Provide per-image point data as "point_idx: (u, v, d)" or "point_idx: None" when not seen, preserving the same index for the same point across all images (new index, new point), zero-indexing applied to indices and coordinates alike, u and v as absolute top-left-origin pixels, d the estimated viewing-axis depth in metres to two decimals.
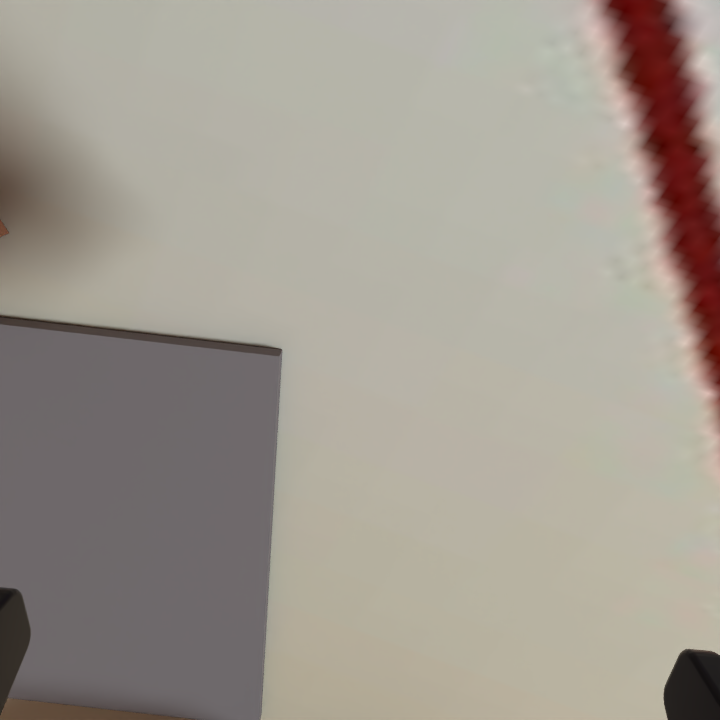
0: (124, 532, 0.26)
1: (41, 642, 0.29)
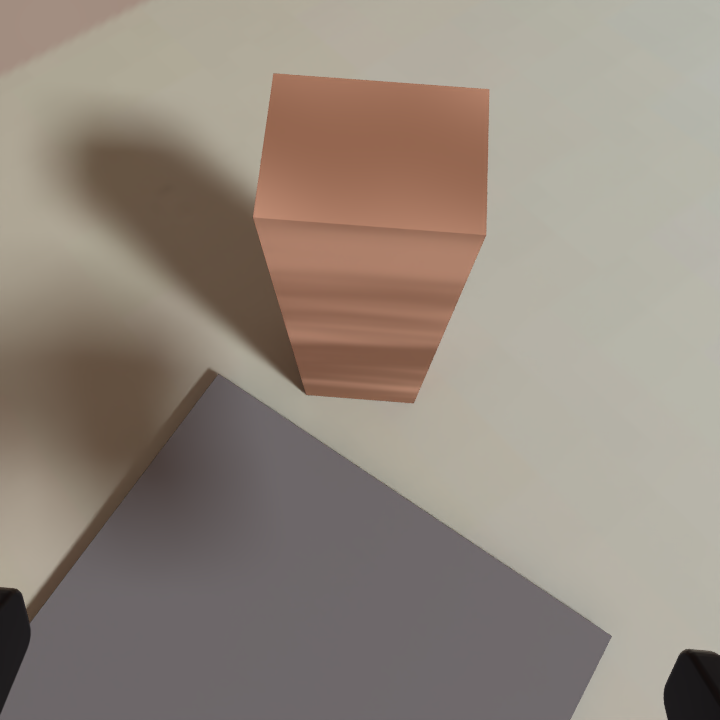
0: None
1: None
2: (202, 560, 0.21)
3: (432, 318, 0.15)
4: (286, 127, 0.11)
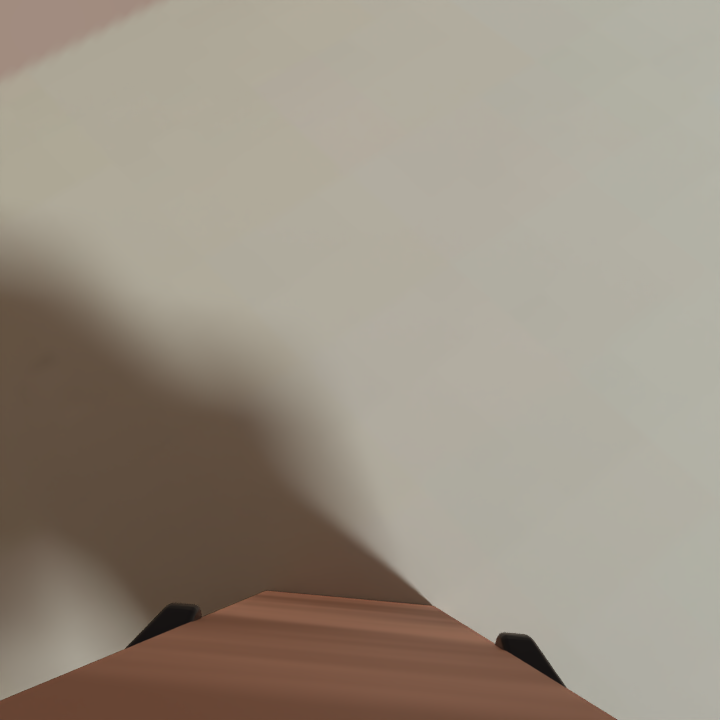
0: None
1: None
2: None
3: None
4: None
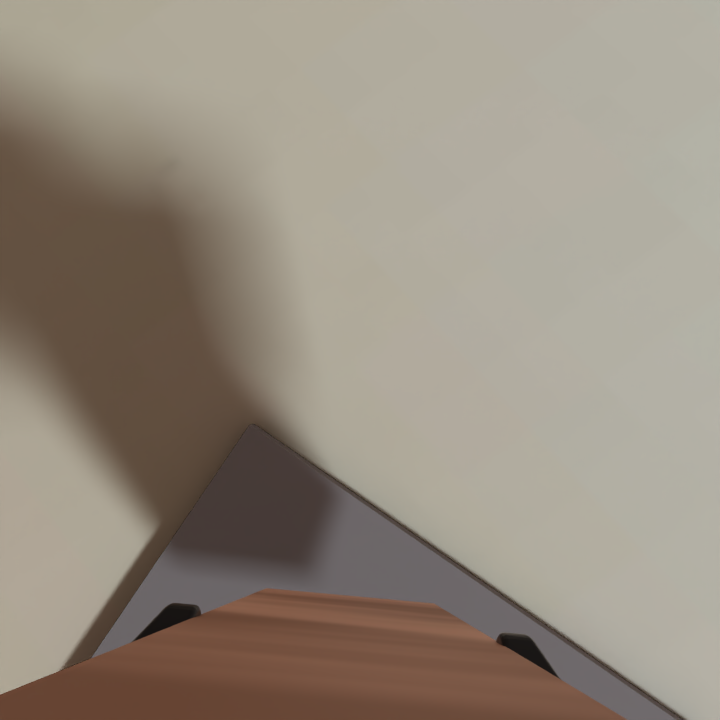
0: None
1: None
2: None
3: None
4: None
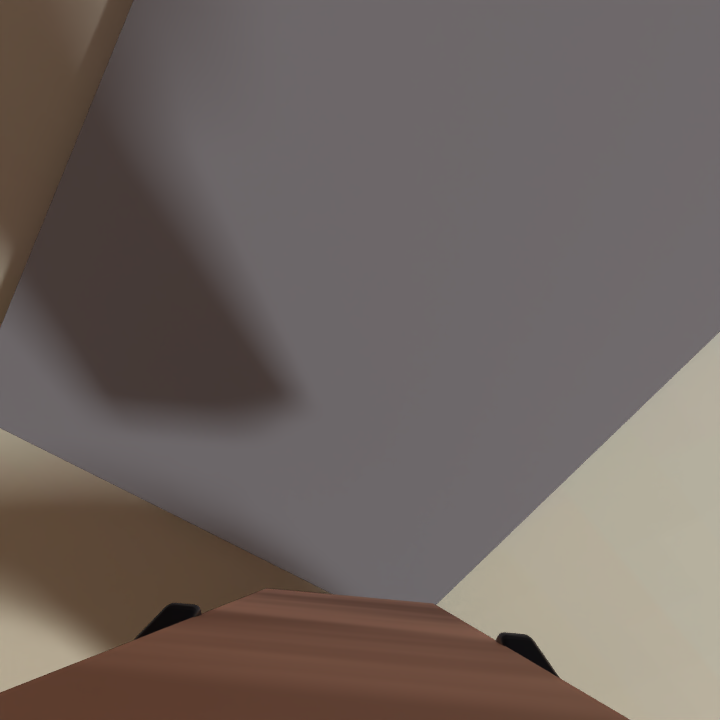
0: (466, 296, 0.16)
1: (200, 408, 0.18)
2: (317, 14, 0.13)
3: None
4: None
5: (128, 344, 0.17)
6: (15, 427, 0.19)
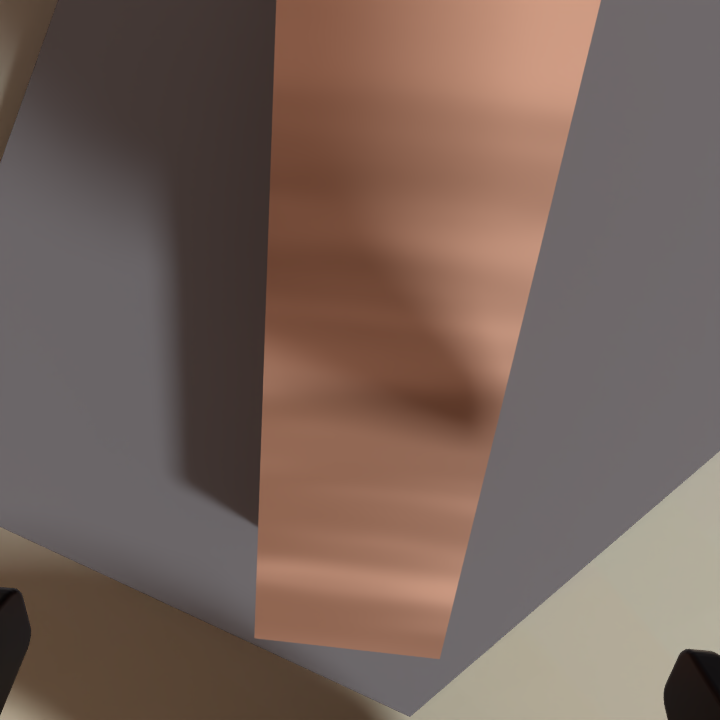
0: None
1: (165, 473, 0.15)
2: None
3: (508, 261, 0.09)
4: None
5: (76, 401, 0.14)
6: None
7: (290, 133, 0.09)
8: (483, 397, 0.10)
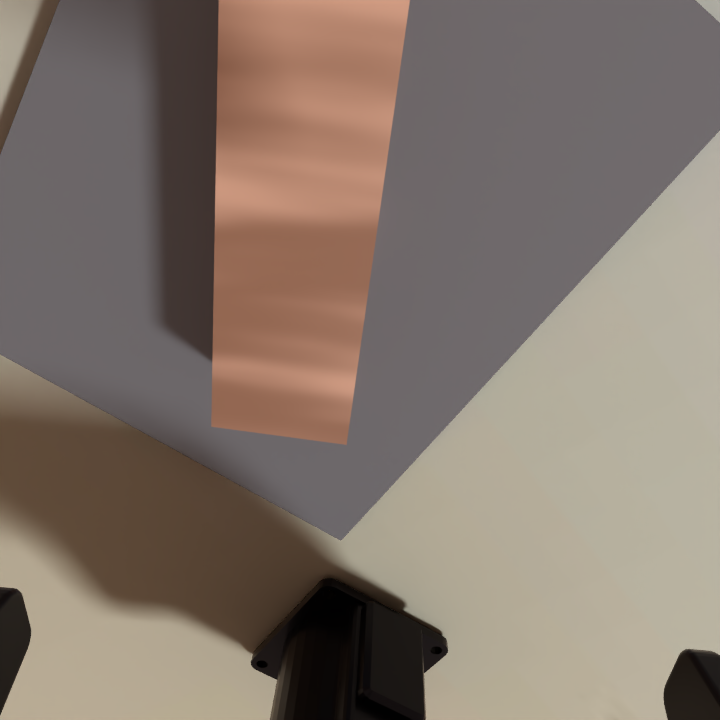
0: (382, 218, 0.18)
1: (148, 319, 0.20)
2: None
3: (374, 124, 0.14)
4: None
5: (82, 257, 0.19)
6: None
7: (230, 32, 0.13)
8: (364, 226, 0.15)
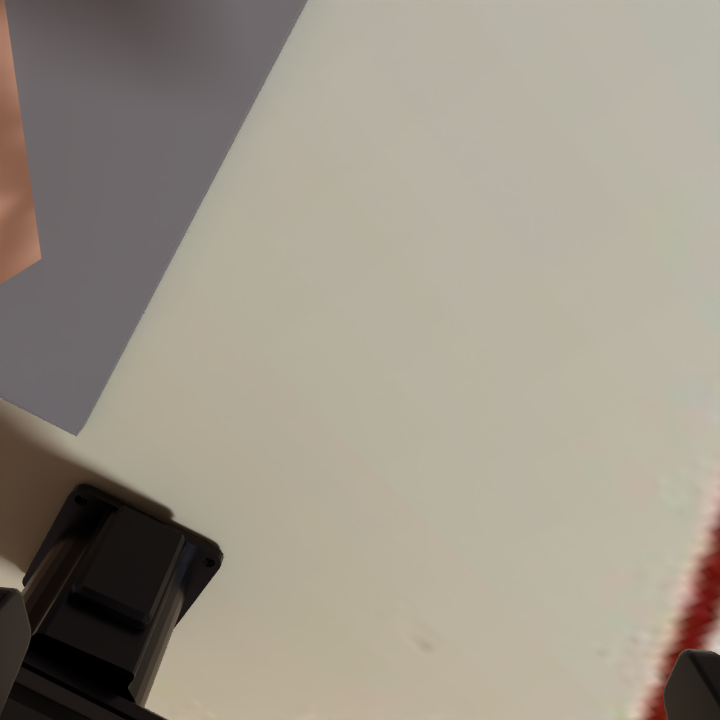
0: (15, 44, 0.17)
1: None
2: None
3: None
4: None
5: None
6: None
7: None
8: None
